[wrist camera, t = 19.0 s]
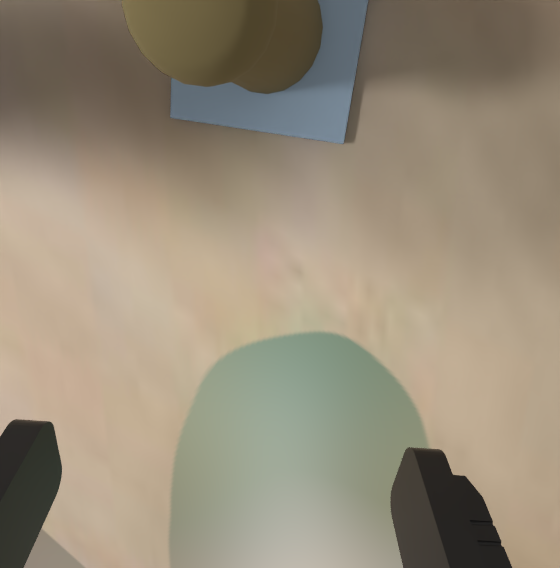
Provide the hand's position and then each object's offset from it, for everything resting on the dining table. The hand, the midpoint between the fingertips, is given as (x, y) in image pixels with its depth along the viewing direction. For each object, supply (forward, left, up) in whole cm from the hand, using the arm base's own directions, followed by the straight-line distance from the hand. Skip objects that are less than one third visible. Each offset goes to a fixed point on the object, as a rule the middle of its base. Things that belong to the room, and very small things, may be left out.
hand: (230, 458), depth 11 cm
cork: (-5, +10, -19) cm, 22 cm away
